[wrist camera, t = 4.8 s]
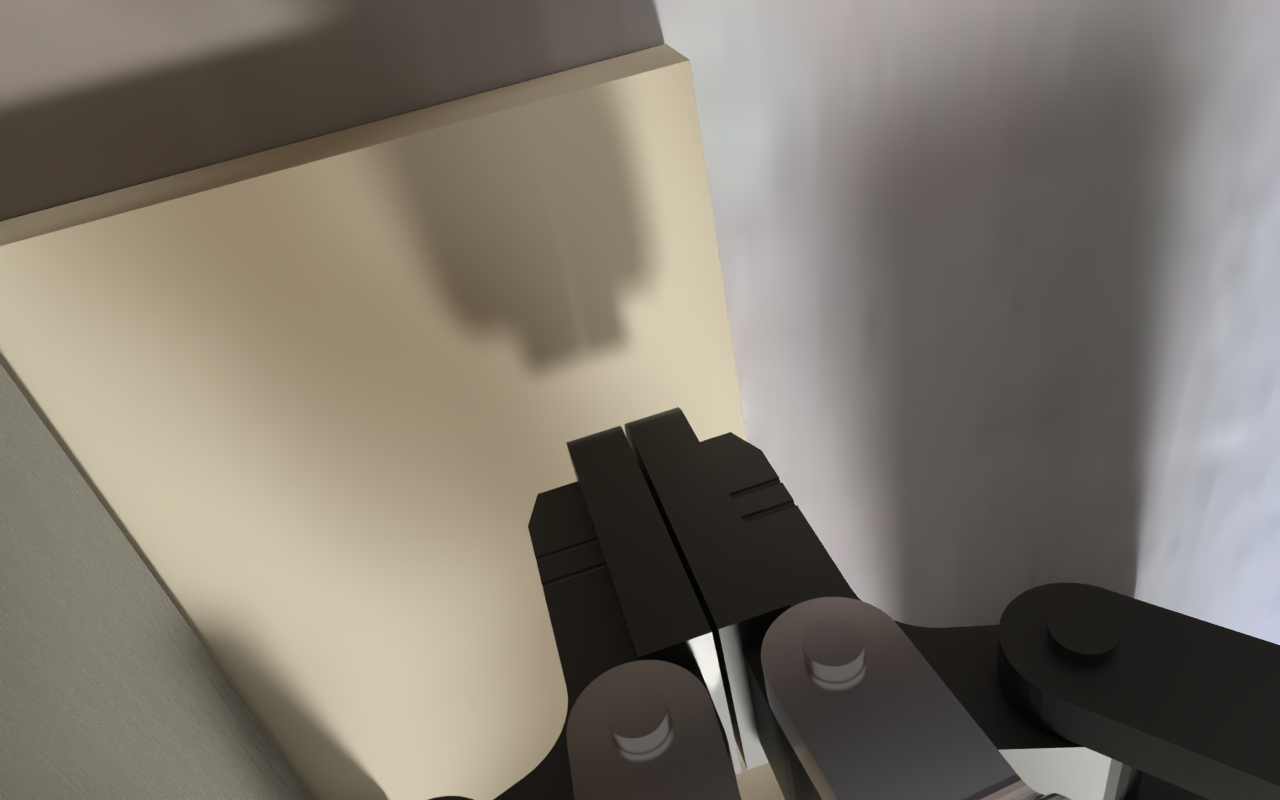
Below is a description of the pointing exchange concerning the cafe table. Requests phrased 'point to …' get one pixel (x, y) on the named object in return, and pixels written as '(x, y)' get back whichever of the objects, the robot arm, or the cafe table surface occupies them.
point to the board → (383, 399)
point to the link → (104, 654)
